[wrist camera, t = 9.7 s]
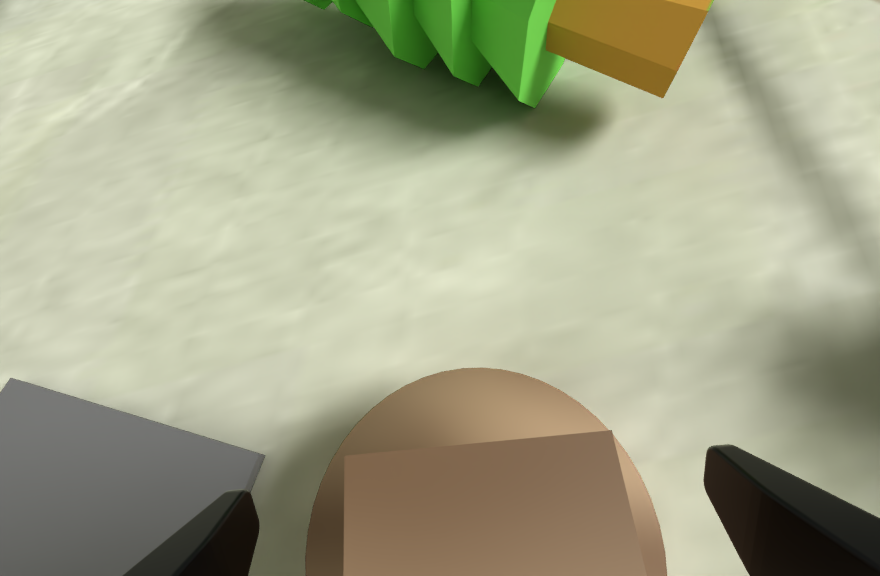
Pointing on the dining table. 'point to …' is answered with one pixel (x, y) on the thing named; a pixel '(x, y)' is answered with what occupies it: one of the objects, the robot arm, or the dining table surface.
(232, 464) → the rubber mat
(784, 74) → the dining table surface
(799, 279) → the dining table surface
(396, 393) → the walnut lid
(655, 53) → the decorative tree
